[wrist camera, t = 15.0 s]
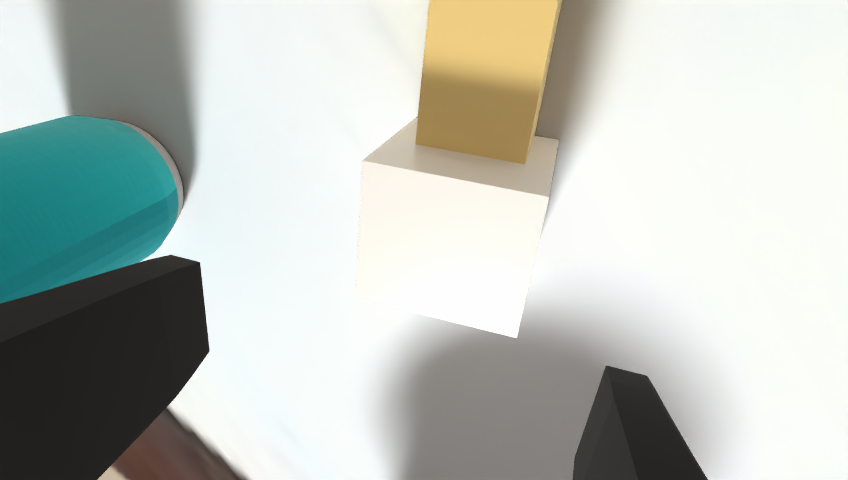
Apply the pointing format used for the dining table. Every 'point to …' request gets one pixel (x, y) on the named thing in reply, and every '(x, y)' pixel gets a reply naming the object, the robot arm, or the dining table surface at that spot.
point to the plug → (464, 171)
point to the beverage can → (81, 201)
